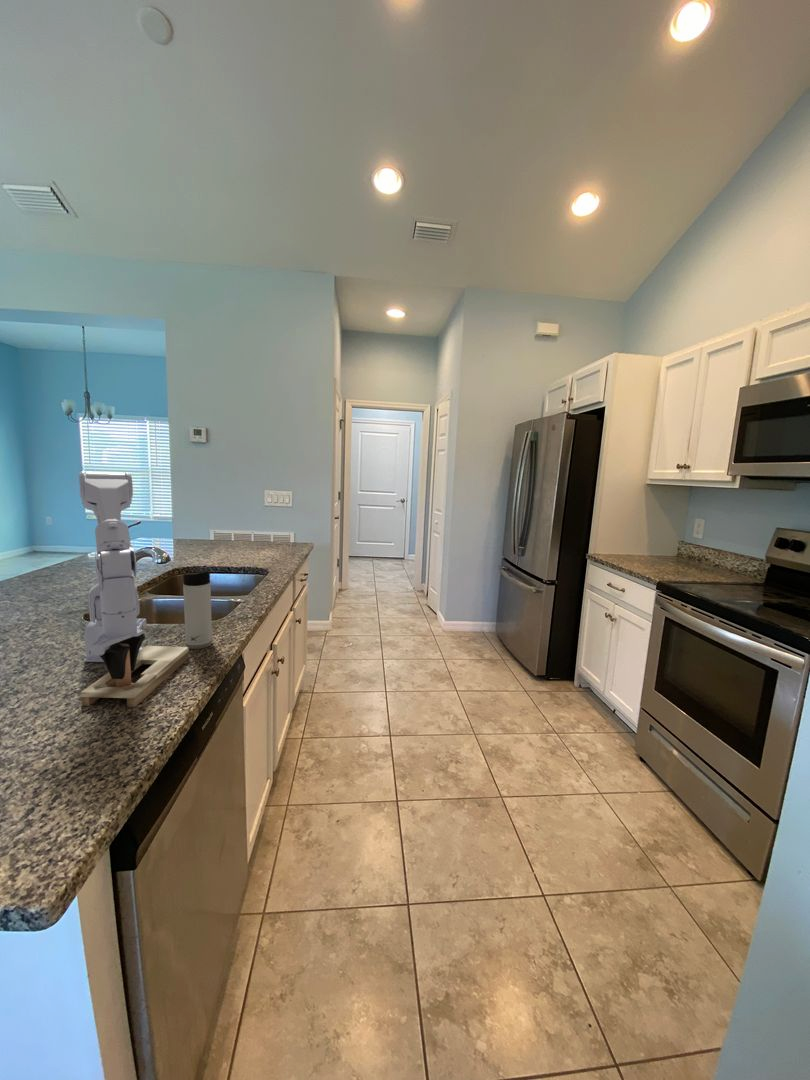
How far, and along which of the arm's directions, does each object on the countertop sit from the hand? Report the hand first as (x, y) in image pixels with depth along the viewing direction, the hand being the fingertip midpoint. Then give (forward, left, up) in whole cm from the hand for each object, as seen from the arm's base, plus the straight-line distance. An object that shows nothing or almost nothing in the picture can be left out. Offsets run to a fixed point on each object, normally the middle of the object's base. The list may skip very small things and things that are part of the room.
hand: (123, 674), depth 87 cm
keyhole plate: (0, +6, -4) cm, 7 cm away
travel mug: (+4, +25, -4) cm, 26 cm away
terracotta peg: (0, 0, -4) cm, 4 cm away
